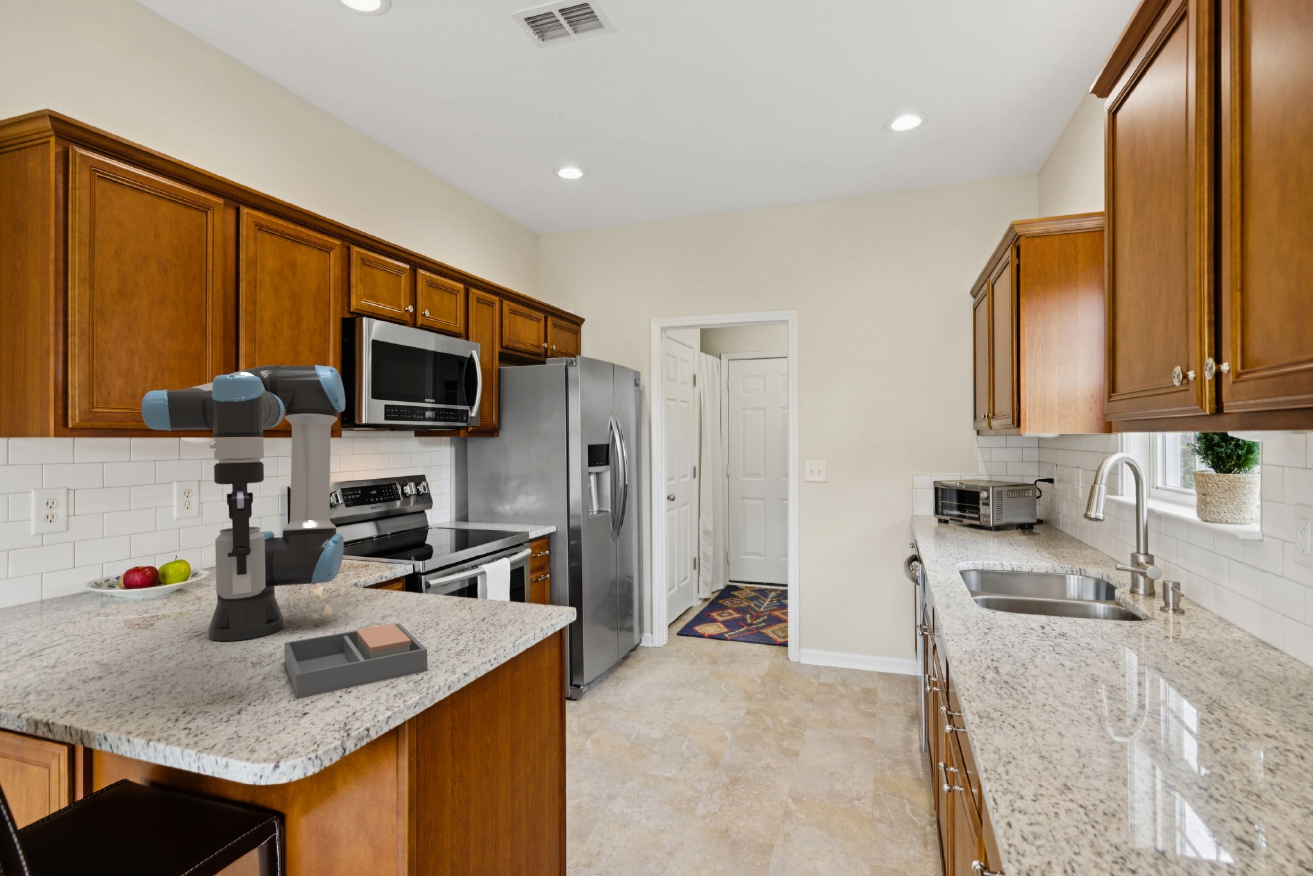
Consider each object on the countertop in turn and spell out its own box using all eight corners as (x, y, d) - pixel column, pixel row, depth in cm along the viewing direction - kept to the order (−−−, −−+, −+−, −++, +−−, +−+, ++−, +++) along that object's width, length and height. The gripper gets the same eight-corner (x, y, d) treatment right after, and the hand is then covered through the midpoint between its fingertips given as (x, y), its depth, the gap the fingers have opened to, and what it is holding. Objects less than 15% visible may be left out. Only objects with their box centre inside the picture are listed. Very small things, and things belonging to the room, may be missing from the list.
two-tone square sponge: (356, 654, 134) (356, 629, 134) (394, 647, 138) (393, 623, 138) (370, 675, 122) (370, 647, 122) (411, 666, 126) (411, 640, 126)
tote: (284, 667, 130) (284, 642, 130) (399, 646, 142) (399, 623, 142) (296, 703, 112) (296, 674, 112) (427, 675, 124) (427, 649, 124)
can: (241, 600, 112) (239, 531, 112) (205, 599, 114) (204, 530, 114) (275, 590, 119) (274, 525, 119) (241, 589, 121) (240, 524, 121)
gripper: (215, 460, 123) (217, 581, 123) (212, 463, 106) (215, 603, 106) (261, 459, 127) (263, 575, 127) (266, 461, 110) (268, 596, 110)
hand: (241, 588), depth 117 cm, fingers closed on can, 7 cm apart
